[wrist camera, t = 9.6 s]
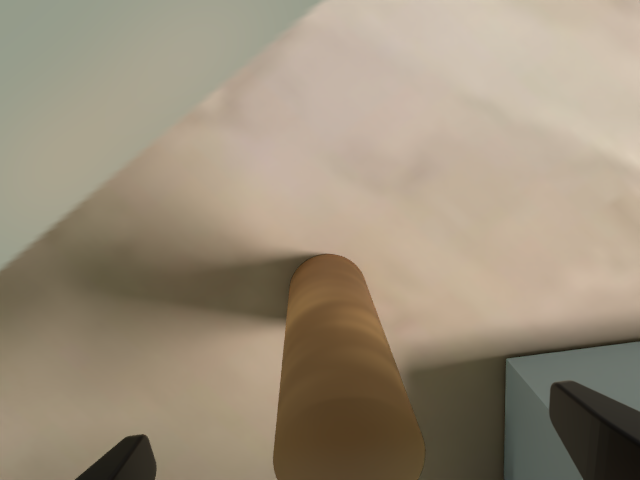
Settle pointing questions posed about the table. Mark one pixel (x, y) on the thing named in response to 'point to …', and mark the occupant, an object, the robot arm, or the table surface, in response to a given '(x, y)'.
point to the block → (534, 396)
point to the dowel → (341, 384)
